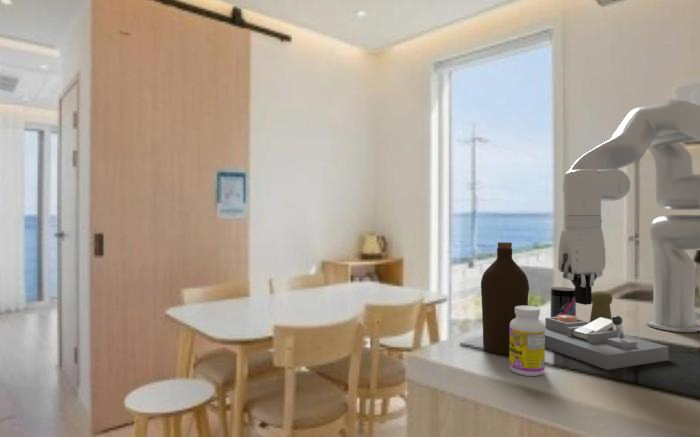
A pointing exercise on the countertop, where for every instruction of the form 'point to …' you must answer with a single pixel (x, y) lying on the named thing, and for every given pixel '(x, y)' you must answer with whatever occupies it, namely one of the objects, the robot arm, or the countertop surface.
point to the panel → (601, 346)
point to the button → (567, 318)
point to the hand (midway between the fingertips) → (583, 303)
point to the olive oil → (501, 299)
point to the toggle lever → (618, 326)
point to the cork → (601, 306)
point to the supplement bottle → (527, 342)
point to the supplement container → (563, 301)
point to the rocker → (593, 327)
